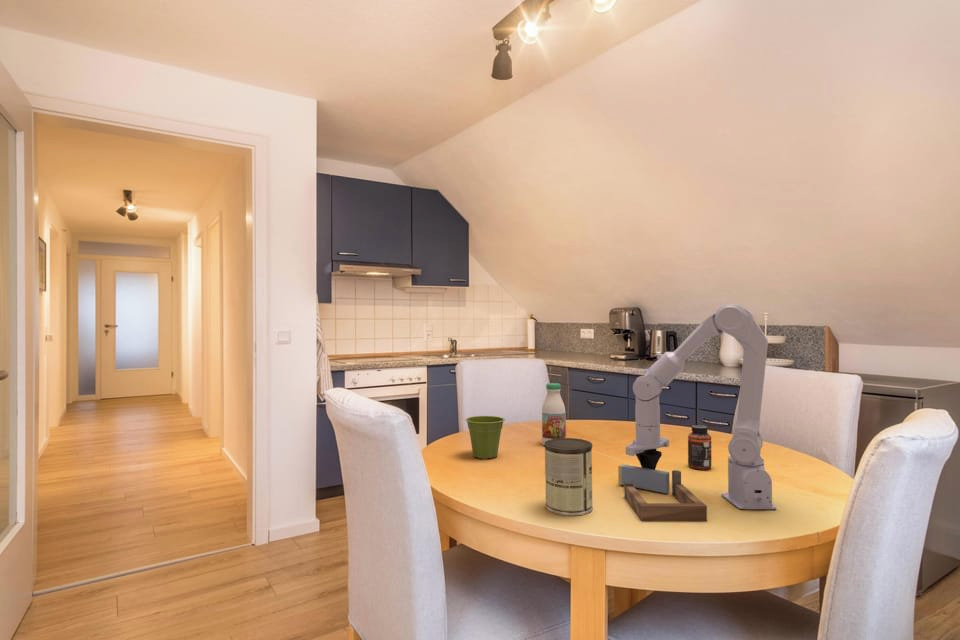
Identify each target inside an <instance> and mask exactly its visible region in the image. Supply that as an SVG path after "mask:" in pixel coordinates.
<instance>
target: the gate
mask: <svg viewBox="0 0 960 640" xmlns="http://www.w3.org/2000/svg"><path fill="white" fill-rule="evenodd" d="M617 468H618V470H617V473H618V477H617V478H618V480H617V481H618V485H620V486H624V482H632V483H633V487H634V488H635V489H641V490H642V489H643V490H648V491H653V492H657V493H661V494H668V493H669V492H670V471H664V470H659V469H655V470H654V469H648V468H642V467H640V466H635V465H628V464H624V463H621V464H619V465H618V467H617Z"/></svg>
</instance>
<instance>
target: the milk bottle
mask: <svg viewBox="0 0 960 640" xmlns="http://www.w3.org/2000/svg"><path fill="white" fill-rule="evenodd" d="M545 386H546V396H545V398H544V401H543V404H542V407H541V444H542V446H544V443H545V442H546V441H548V440H551V439H557V438H567V427H566V425H567V419H566V418H567V417H566V415H567V413H566V406H565V404H564V401H563V399H562V396H561V387H562V386H561V383H558V382H549V383H546V385H545Z"/></svg>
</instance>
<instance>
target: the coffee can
mask: <svg viewBox="0 0 960 640" xmlns="http://www.w3.org/2000/svg"><path fill="white" fill-rule="evenodd" d="M544 445H545V446H544ZM544 445H543V446H544V457H545V458H544V462H545V463H544V464H545V465H544V466H545V467H544V469H545V471H544V473H545V508H546V510H547V511H548V512H550V513H553V514H556V515H561V516H567V517H568V516H569V517H572V516H573V517H575V516H576V517H577V516H584V515H587V514H589V513H591V512H592V511H593V508H594V507H593V462H592V461H593V456H592V455H593V453H592V450H593V442H591V441H589V440H585V439H581V438H573V437H572V438H571V437H566V438H557V439H551V440H548V441H546V442H545V443H544Z"/></svg>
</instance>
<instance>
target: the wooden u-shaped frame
mask: <svg viewBox="0 0 960 640" xmlns="http://www.w3.org/2000/svg"><path fill="white" fill-rule="evenodd" d="M623 486H624V487H623V488H624V498H625V500H626V501H627V502H628V505H630V507H631V508H632V509H633V511H634V512H635V514H636V515H637V517H638V518H639V519H640V520H641V521H642V522H650V521H651V522H708V510H707V509H708V506H707V504H705V503H704V502H703V501H702V500H701V499H699V498H698V497H697V496H696V495H695V494H694V493H693V492H691V491H690V490H689V489H688V488H687V487H686V486H685V485H684V484H682V471H680V470H677V469H676V470H675V469H674V470H672V471H671V496H672V497H675V499H676V500H677V501H679V502H678V503H673V502H672V503H671V502H670V503H661V502H659V503H658V502H653V503H650V502H647V501H646V499H644V497H643V496H642V494H640V493H639V491H638V490H637V488H636V487H633V483H632V482H624V485H623Z"/></svg>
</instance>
